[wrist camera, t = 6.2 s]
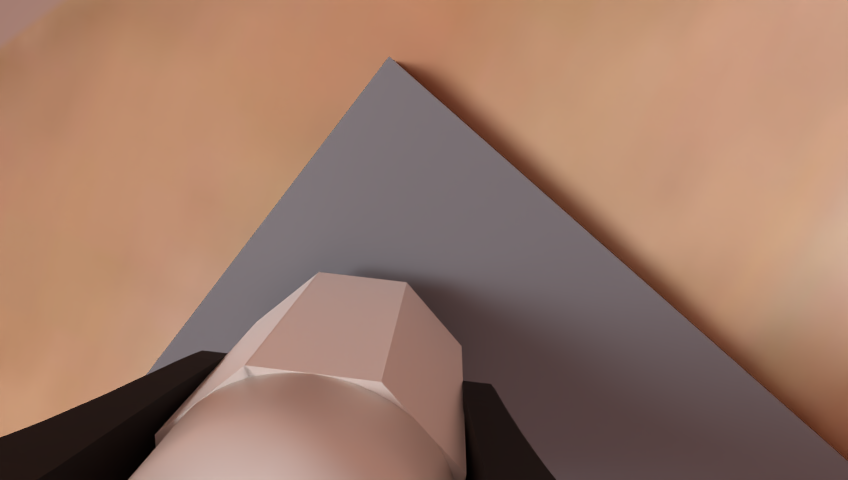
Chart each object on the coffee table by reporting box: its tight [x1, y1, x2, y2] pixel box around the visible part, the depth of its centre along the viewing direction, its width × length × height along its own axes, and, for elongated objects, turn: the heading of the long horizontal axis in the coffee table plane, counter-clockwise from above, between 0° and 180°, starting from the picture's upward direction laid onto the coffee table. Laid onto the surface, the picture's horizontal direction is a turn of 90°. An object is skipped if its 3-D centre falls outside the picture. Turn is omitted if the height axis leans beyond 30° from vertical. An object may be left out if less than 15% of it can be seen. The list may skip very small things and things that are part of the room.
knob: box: [128, 272, 466, 480], centre depth 8 cm, size 5×5×7 cm
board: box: [147, 57, 848, 480], centre depth 13 cm, size 17×12×1 cm
